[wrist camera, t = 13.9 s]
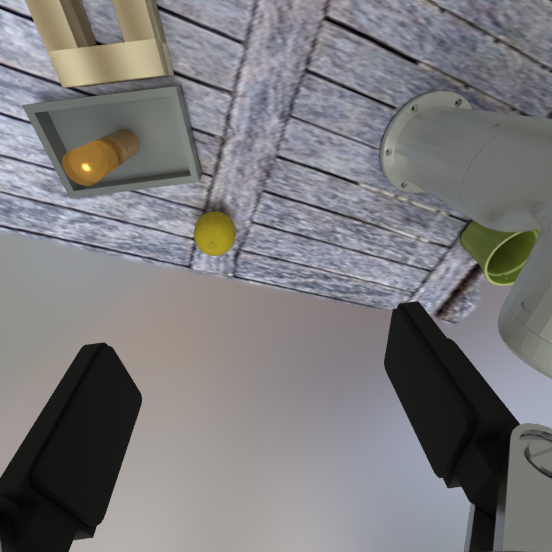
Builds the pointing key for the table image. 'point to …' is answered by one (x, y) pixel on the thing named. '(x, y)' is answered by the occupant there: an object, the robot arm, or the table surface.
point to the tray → (114, 116)
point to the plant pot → (498, 251)
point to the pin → (100, 157)
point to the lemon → (214, 233)
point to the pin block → (104, 58)
